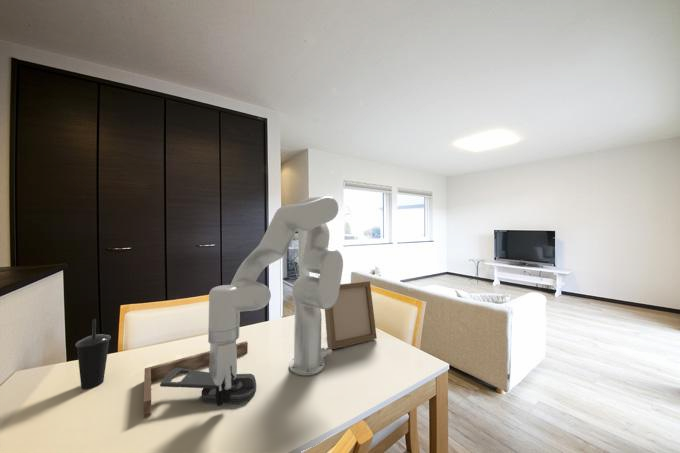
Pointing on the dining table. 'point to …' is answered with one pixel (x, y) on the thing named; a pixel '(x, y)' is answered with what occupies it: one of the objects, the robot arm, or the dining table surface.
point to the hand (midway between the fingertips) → (223, 402)
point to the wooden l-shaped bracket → (185, 363)
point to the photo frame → (351, 316)
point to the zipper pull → (213, 385)
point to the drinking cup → (92, 358)
